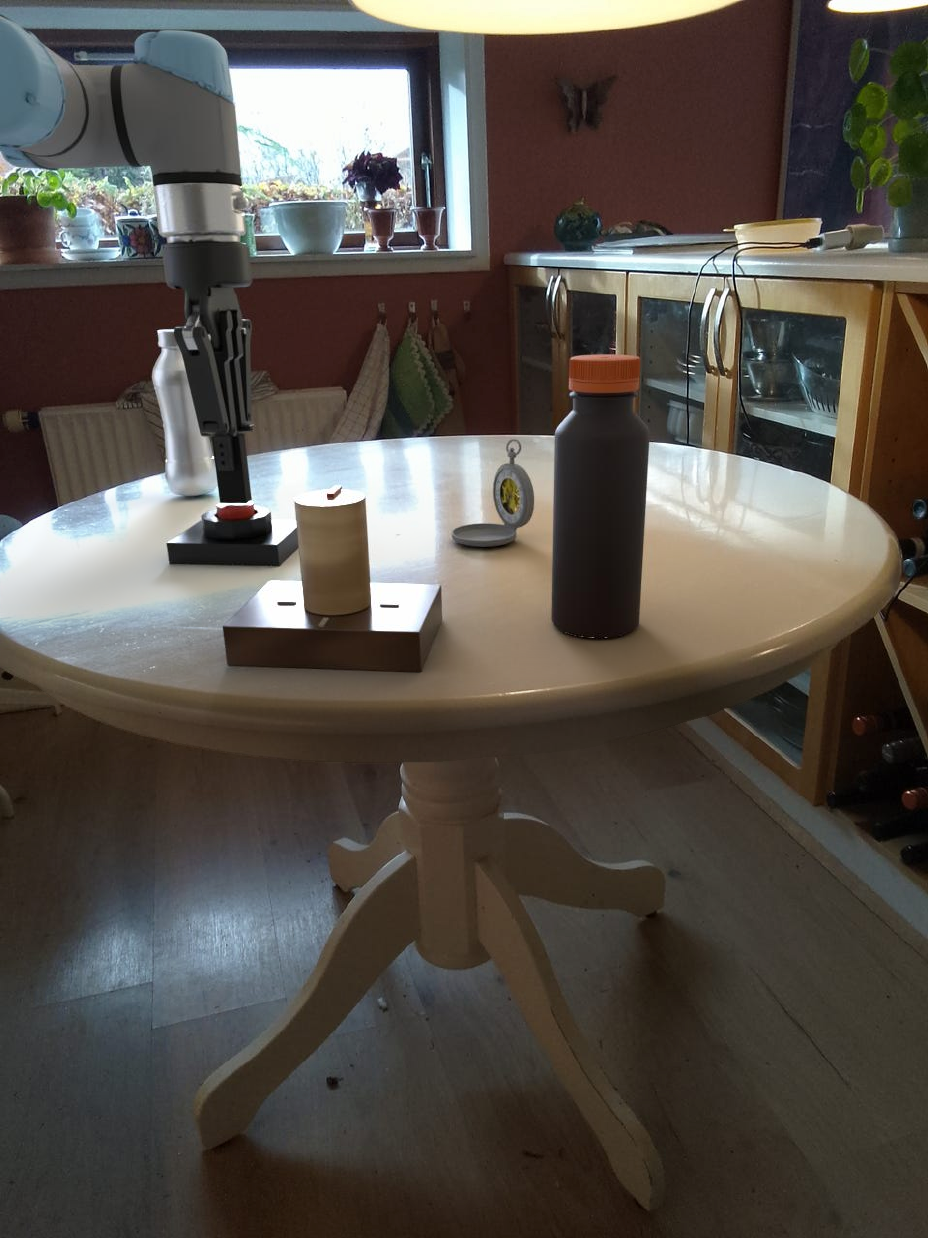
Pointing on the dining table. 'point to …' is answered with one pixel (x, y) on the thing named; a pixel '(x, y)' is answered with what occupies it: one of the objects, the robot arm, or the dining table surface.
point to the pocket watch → (502, 507)
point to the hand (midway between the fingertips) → (236, 501)
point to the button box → (235, 541)
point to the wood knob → (333, 551)
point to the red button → (235, 510)
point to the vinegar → (599, 500)
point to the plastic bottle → (181, 424)
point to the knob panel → (336, 630)
